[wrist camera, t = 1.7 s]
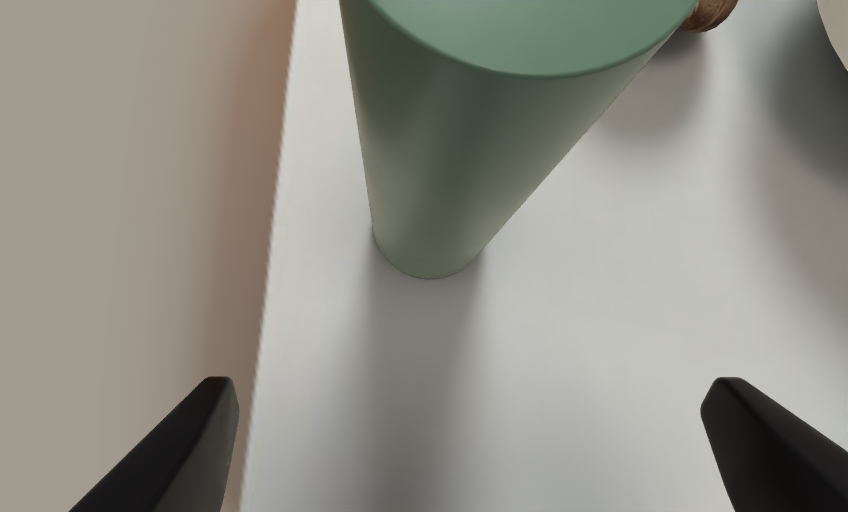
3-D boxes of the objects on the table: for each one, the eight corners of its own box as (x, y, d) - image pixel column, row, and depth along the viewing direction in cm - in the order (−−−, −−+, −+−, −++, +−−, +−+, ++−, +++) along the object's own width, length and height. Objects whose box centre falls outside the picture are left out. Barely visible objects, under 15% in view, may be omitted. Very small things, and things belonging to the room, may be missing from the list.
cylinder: (496, 267, 23) (774, 45, 6) (383, 288, 23) (362, 107, 6) (473, 160, 24) (660, -281, 7) (363, 178, 23) (295, -252, 7)
